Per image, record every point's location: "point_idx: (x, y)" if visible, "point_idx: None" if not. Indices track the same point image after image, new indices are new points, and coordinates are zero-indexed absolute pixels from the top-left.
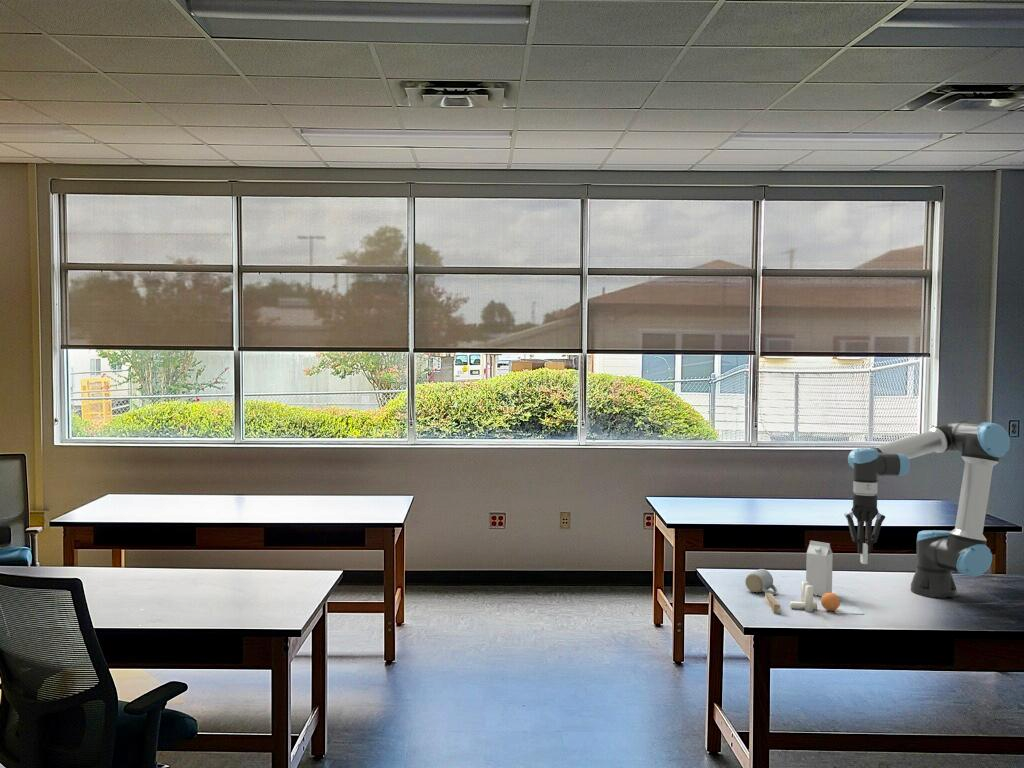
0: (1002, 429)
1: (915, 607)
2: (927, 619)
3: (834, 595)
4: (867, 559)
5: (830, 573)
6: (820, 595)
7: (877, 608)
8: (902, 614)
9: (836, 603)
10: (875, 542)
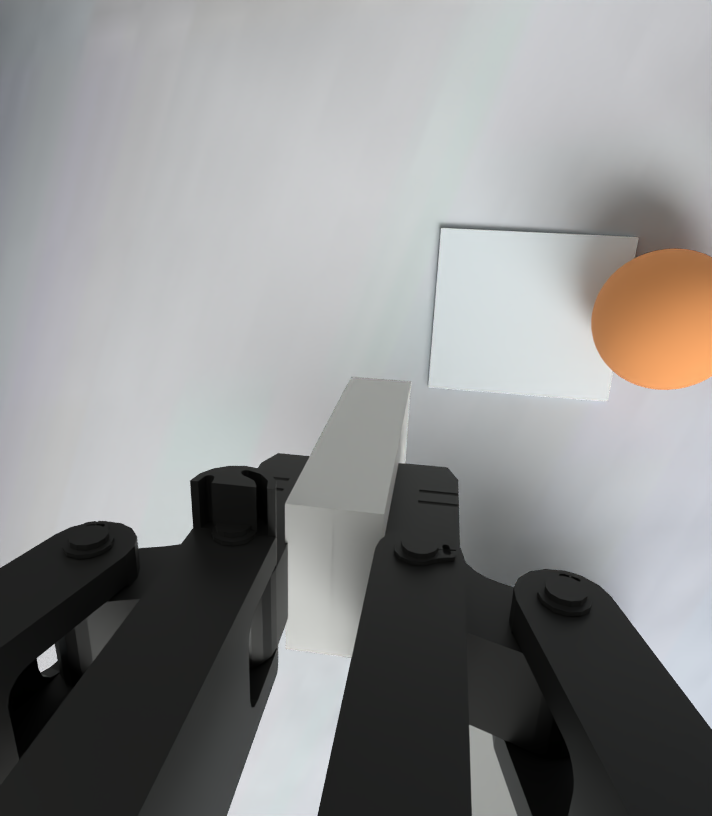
0: None
1: (67, 405)
2: (59, 157)
3: (670, 297)
4: (341, 399)
5: (486, 739)
6: None
7: (296, 373)
8: (182, 255)
9: (652, 253)
10: (94, 523)
